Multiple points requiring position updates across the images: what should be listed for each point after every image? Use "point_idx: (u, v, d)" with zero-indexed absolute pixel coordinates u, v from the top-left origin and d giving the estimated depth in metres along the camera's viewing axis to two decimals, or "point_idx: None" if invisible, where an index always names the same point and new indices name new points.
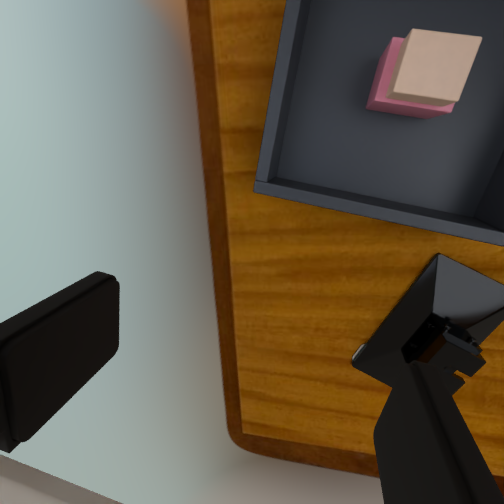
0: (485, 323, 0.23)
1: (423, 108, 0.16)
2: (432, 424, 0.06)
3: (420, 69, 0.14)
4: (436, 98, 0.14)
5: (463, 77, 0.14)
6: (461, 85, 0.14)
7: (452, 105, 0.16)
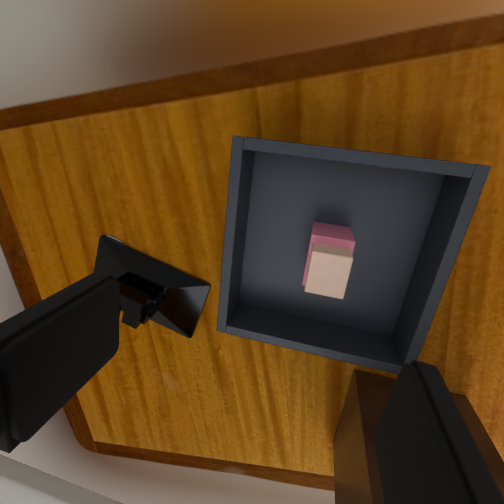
0: (166, 320, 0.32)
1: (305, 267, 0.22)
2: (432, 424, 0.06)
3: (326, 266, 0.19)
4: (306, 278, 0.20)
5: (319, 292, 0.20)
6: (314, 292, 0.20)
7: None
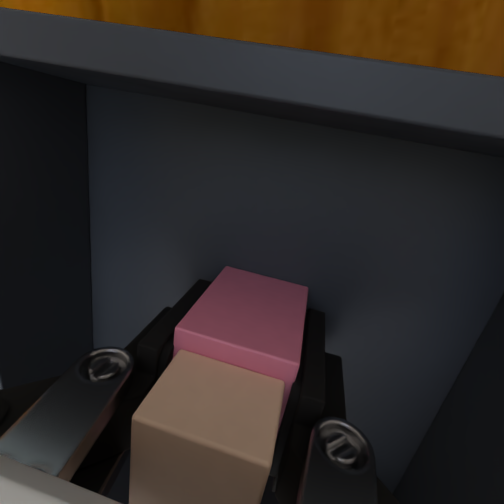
0: None
1: None
2: None
3: (180, 470, 0.05)
4: (131, 483, 0.06)
5: None
6: None
7: None
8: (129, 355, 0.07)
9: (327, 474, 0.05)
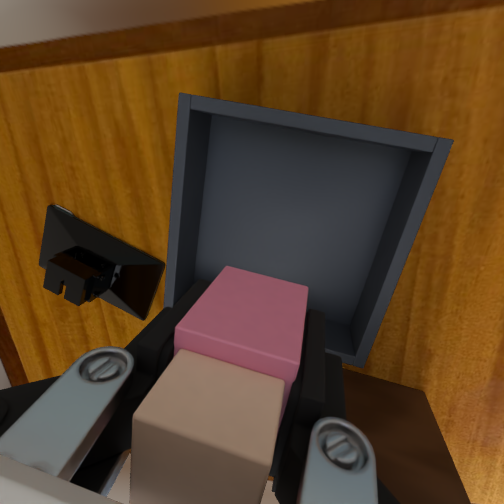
0: (117, 300, 0.30)
1: None
2: None
3: (181, 468, 0.05)
4: (131, 482, 0.06)
5: None
6: None
7: None
8: (129, 355, 0.07)
9: (327, 474, 0.05)
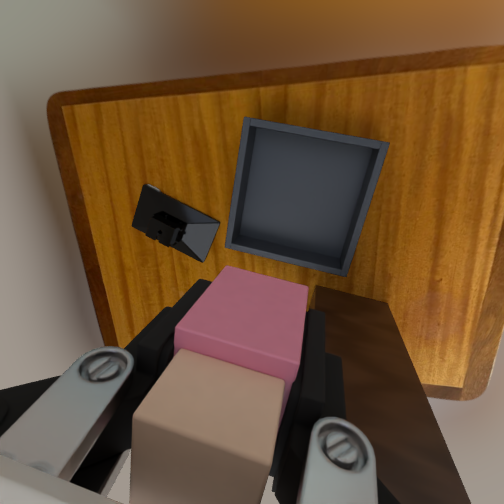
0: (186, 248, 0.44)
1: None
2: None
3: (181, 468, 0.05)
4: (131, 482, 0.06)
5: None
6: None
7: None
8: (129, 355, 0.07)
9: (327, 474, 0.05)
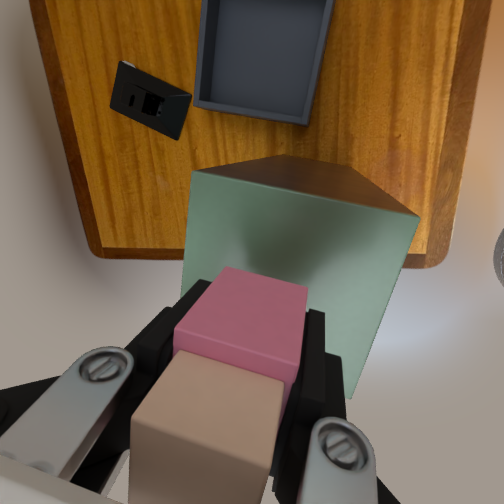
0: (160, 125, 0.47)
1: None
2: None
3: (180, 471, 0.05)
4: (130, 484, 0.06)
5: None
6: None
7: None
8: (129, 355, 0.07)
9: (327, 474, 0.05)
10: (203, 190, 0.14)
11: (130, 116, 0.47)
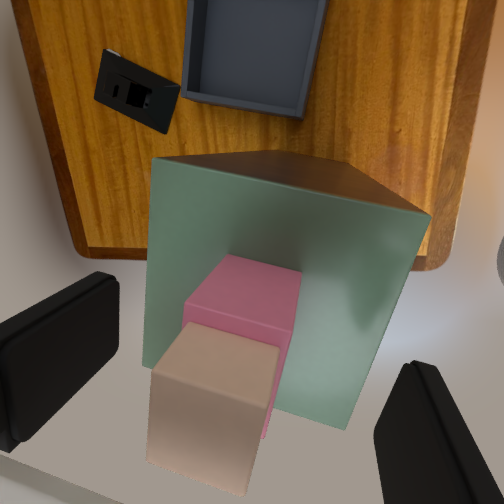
0: (147, 118, 0.44)
1: None
2: (432, 424, 0.06)
3: (192, 416, 0.07)
4: (148, 432, 0.07)
5: (181, 471, 0.07)
6: (169, 467, 0.07)
7: None
8: None
9: None
10: (166, 181, 0.11)
11: (115, 108, 0.45)
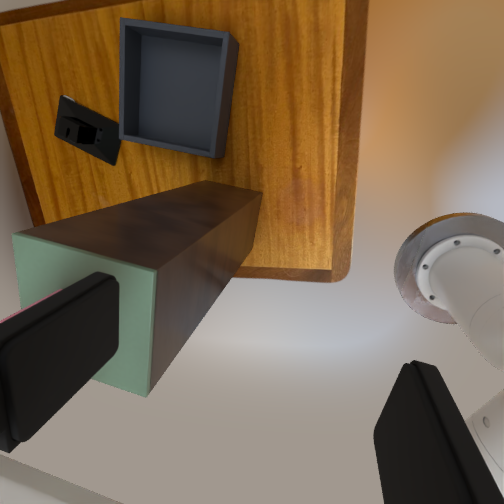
0: (98, 152, 0.52)
1: None
2: (432, 424, 0.06)
3: None
4: None
5: None
6: None
7: None
8: None
9: None
10: (21, 247, 0.19)
11: (72, 143, 0.53)
